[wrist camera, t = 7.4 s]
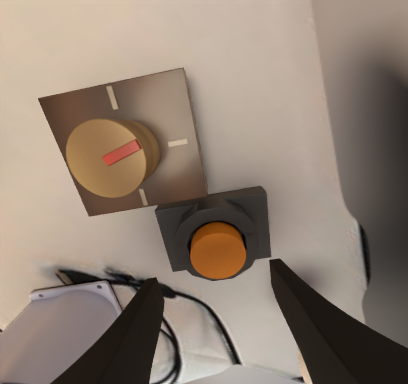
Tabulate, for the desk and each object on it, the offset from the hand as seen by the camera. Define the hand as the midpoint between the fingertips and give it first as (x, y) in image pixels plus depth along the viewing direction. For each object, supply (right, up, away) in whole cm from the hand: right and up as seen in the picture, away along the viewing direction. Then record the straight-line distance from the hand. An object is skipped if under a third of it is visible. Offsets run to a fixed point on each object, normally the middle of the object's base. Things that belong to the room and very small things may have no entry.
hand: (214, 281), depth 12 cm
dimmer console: (-6, +10, +5) cm, 12 cm away
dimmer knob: (-6, +9, +2) cm, 11 cm away
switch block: (0, +2, +7) cm, 8 cm away
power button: (0, +1, +5) cm, 5 cm away
